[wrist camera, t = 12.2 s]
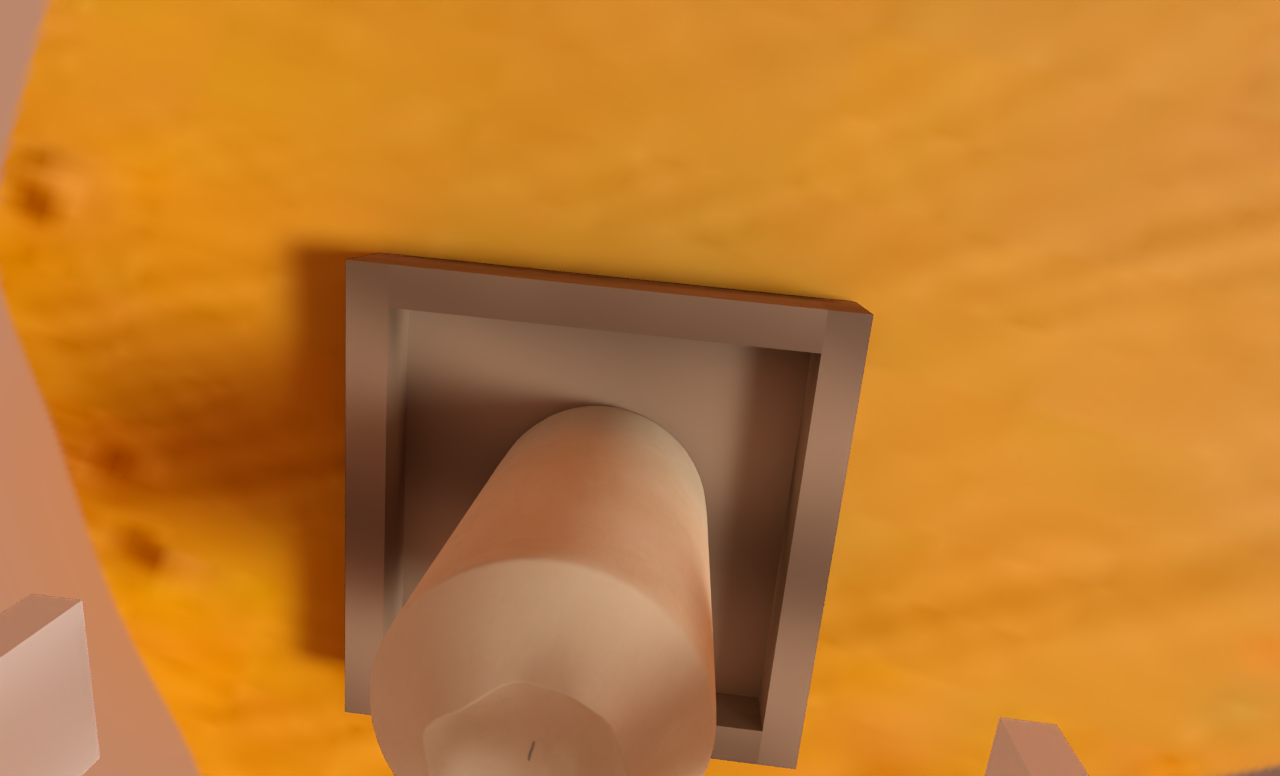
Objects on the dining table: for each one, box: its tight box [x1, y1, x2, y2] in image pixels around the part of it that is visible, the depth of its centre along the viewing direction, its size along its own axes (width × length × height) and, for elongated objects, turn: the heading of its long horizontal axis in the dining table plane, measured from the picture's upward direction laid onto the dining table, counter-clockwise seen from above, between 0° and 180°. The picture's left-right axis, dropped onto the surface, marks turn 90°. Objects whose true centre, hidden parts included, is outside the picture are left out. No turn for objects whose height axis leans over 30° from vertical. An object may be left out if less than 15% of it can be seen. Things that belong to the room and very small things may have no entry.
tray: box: [345, 253, 873, 769], centre depth 20 cm, size 12×12×2 cm
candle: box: [370, 406, 716, 776], centre depth 16 cm, size 6×6×10 cm
